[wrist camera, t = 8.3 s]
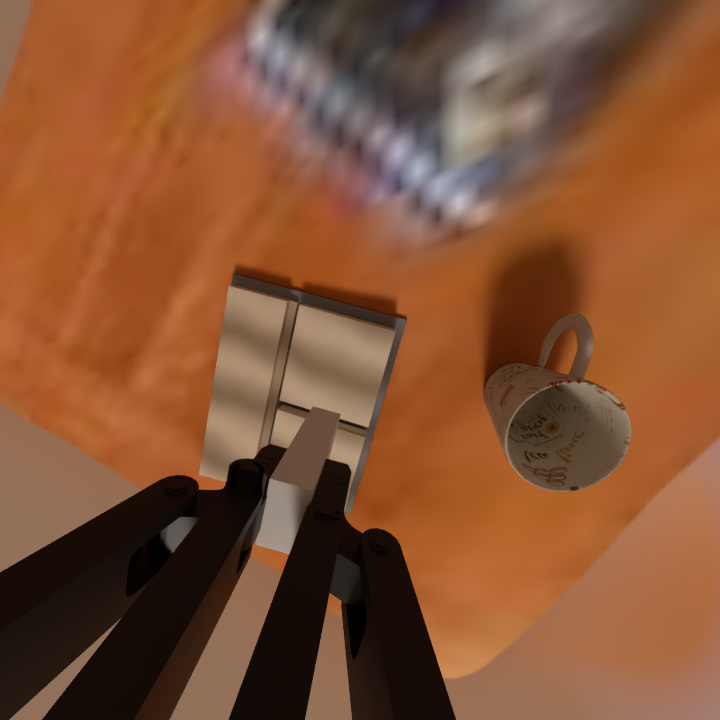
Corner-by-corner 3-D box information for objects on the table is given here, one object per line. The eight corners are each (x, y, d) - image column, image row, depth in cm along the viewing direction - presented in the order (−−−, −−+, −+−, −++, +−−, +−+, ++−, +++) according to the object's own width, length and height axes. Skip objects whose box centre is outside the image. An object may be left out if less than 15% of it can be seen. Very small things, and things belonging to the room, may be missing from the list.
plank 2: (283, 404, 35) (277, 409, 33) (367, 430, 34) (365, 437, 32) (266, 483, 37) (260, 491, 36) (344, 510, 36) (341, 519, 35)
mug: (461, 422, 34) (490, 478, 25) (498, 297, 31) (547, 305, 22) (543, 440, 34) (605, 503, 24) (588, 316, 31) (679, 333, 21)
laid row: (234, 273, 33) (225, 273, 31) (406, 319, 32) (407, 322, 30) (203, 471, 38) (193, 481, 36) (350, 512, 38) (348, 524, 36)
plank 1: (304, 303, 32) (299, 304, 31) (396, 329, 32) (395, 331, 30) (284, 395, 35) (279, 400, 33) (370, 421, 34) (368, 427, 32)
